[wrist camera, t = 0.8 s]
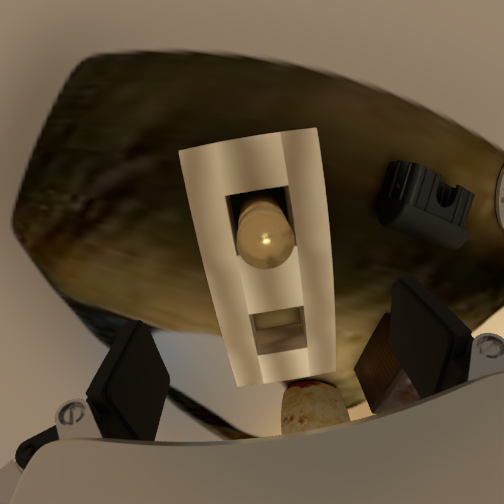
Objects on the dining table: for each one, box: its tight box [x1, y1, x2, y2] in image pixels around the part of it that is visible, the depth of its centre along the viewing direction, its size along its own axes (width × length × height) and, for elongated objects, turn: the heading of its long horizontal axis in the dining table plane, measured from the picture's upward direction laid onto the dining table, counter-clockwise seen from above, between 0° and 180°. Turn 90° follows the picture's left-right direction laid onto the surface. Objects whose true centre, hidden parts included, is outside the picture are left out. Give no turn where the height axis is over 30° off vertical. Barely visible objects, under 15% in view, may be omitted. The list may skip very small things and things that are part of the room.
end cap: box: [377, 161, 474, 250], centre depth 27 cm, size 10×7×7 cm
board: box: [179, 128, 336, 387], centre depth 30 cm, size 12×27×5 cm, turn 10°
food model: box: [281, 381, 350, 435], centre depth 30 cm, size 10×7×20 cm
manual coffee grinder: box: [354, 314, 421, 414], centre depth 28 cm, size 16×11×18 cm
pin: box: [236, 191, 295, 269], centre depth 25 cm, size 4×4×11 cm
